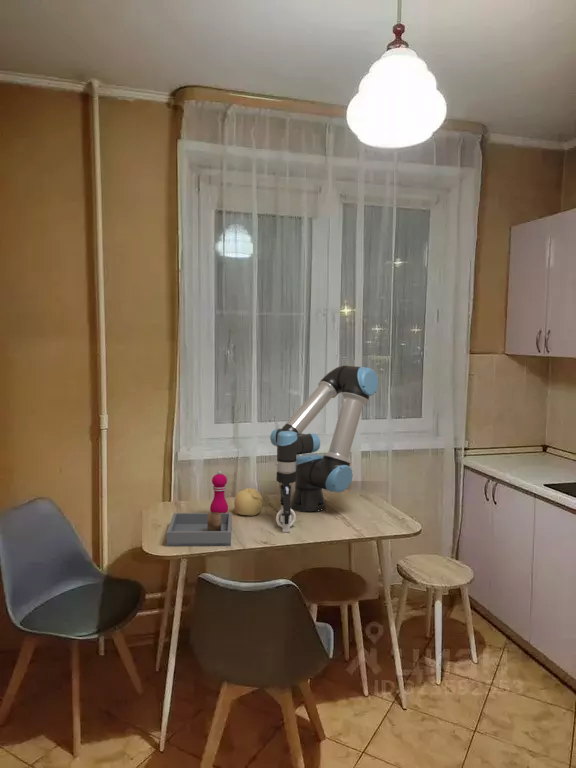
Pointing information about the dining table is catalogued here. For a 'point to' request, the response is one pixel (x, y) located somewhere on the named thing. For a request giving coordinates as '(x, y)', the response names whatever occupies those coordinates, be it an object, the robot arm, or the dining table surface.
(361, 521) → the dining table surface
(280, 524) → the ring around a ball
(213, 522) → the walnut cylinder
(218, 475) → the pepper mill
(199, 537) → the tray
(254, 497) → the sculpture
